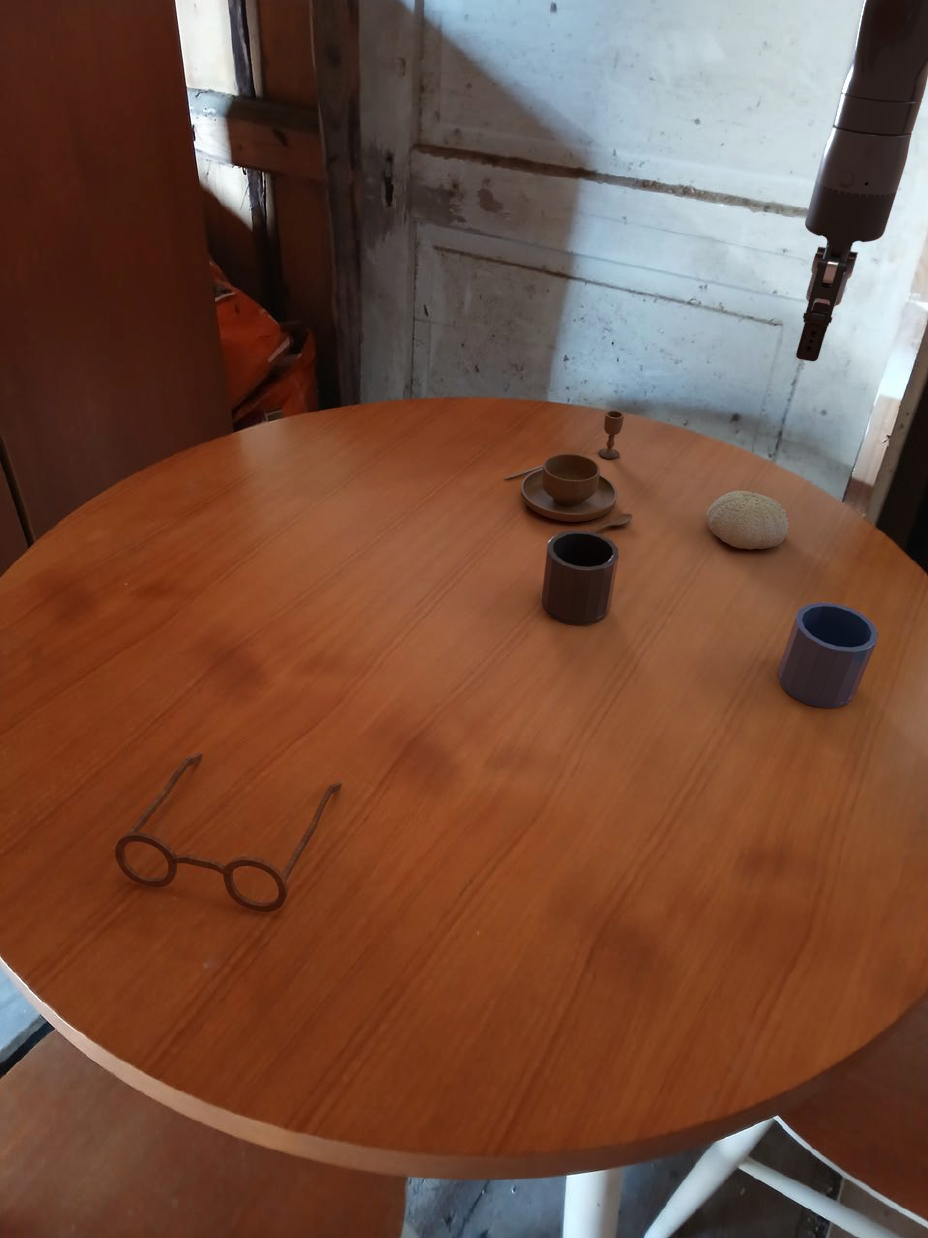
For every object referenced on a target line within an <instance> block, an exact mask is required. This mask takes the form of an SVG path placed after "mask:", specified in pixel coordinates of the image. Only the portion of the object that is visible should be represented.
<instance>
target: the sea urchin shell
mask: <svg viewBox="0 0 928 1238" xmlns="http://www.w3.org/2000/svg"><path fill="white" fill-rule="evenodd" d="M705 517H706V524H707V526H708V529H710V531H711V532H712V534H713V535H715V537H717V538H719V539H720V540H721V542H723V543H725V544H727V545H728V546H731V547H733V548H737V549H745V550H754V549H755V550H756V549H759V550H764V549H770V548H774V547H776V546H778V545H780V544H782V542H783V541H784V540H785V538H786V536H787V534H788V531H789V519H788V515H787V512H786V511H785V508H784V507H783V506H782V505H781V504H780V502H778V501H777V500H776V499H774V498H772V497H769V496H766V495H763V494H761V493H756V492H754V491H747V490H734V491H729V492H726V493H725V494H722V496H720V497H718V498H716V500H714V501H713V503H712V504H711V505H710V507H709V508H708V509H707V511H706V515H705Z"/></svg>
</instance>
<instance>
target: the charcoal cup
mask: <svg viewBox="0 0 928 1238" xmlns="http://www.w3.org/2000/svg"><path fill="white" fill-rule="evenodd" d="M619 558H620V553H619V548H618V547H617V545H616V544H615V543H614V542H613V541H612V540H611V539H610V538H608V537H606V536H605V535H603V534H600V533H597V532H595V533H594V532H590V530H580V529H576V530H575V529H574V530H567V531H561V532H560V533H558V534H556V535H553V536H552V537H551V539H550V540H548V542H547V545H546V553H545V561H544V562H545V563H544V571H543V572H544V573H543V582H542V589H541V606H542V608H543V611H544V612H545V613H546V615H548V616H549V617H551V618H552V619H554V620H556V621H558V622H561V623H563V624H567V625H571V626H572V625H573V626H589V625H593V624H596V623H599V622H600V621H602V620H603V619H605V618H606V617H607V616H608V614H609V612H610V608H611V605H612V599H613V594H614V593H613V592H614V587H615V581H616V574H617V571H618V564H619Z"/></svg>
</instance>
